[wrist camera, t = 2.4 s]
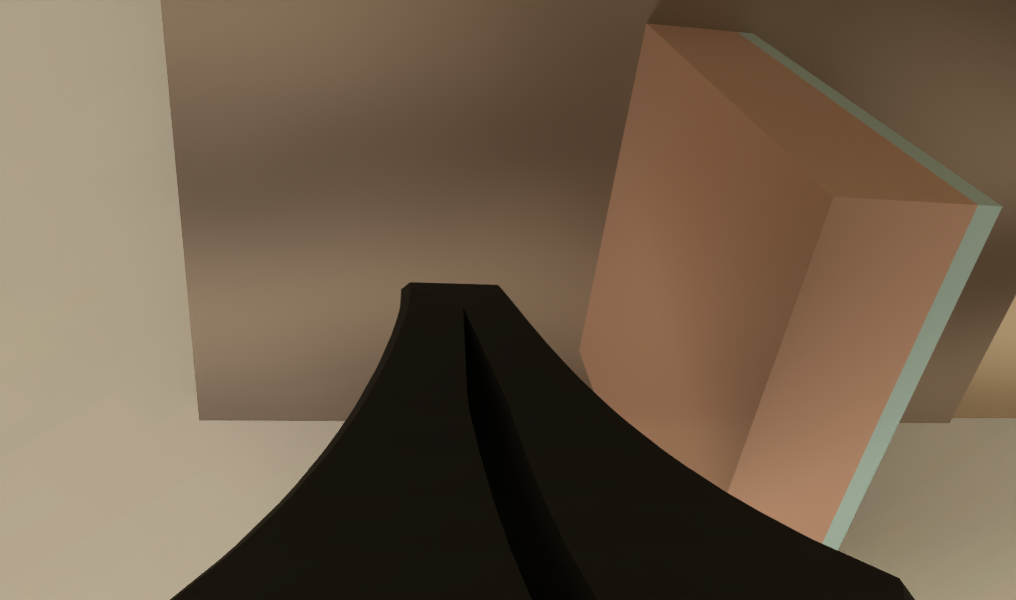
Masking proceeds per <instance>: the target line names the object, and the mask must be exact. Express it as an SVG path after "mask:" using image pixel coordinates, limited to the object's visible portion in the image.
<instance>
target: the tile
mask: <svg viewBox="0 0 1016 600" xmlns="http://www.w3.org/2000/svg"><path fill="white" fill-rule="evenodd" d="M1002 207H1003V206H1001V205H1000V204H998V203H997V202H995V201H994V200H993V199H991V198H990V197H988V196H987V195H985V194H984V193H982V192H981V191H980V190H978V189H977V188H975V187H974V186H972V185H971V184H969V183H968V182H967V181H965V180H964V179H962V178H961V177H959V176H958V175H956V174H955V173H954V172H952V171H951V170H949V169H948V168H946V167H945V166H944V165H942V164H941V163H939V162H938V161H936V160H935V159H933V158H932V157H931V156H929V155H928V154H926V153H925V152H923V151H922V150H920V149H919V148H918V147H916V146H915V145H913V144H912V143H910V142H909V141H907V140H906V139H905V138H903V137H902V136H900V135H899V134H897V133H896V132H894V131H893V130H892V129H890V128H889V127H887V126H886V125H884V124H883V123H882V122H880V121H879V120H877V119H876V118H874V117H873V116H871V115H870V114H869V113H867V112H866V111H864V110H863V109H861V108H860V107H858V106H857V105H856V104H854V103H853V102H851V101H850V100H848V99H847V98H845V97H844V96H843V95H841V94H840V93H838V92H837V91H835V90H834V89H833V88H831V87H830V86H828V85H827V84H825V83H824V82H822V81H821V80H820V79H818V78H817V77H815V76H814V75H812V74H811V73H809V72H808V71H807V70H805V69H804V68H802V67H801V66H799V65H798V64H796V63H795V62H794V61H792V60H791V59H789V58H788V57H786V56H785V55H783V54H782V53H781V52H779V51H778V50H776V49H775V48H773V47H772V46H771V45H769V44H768V43H766V42H765V41H763V40H762V39H760V38H759V37H758V36H756V35H755V34H753V33H743V32H732V31H722V30H711V29H701V28H690V27H680V26H669V25H659V24H648V23H646V27H645V32H644V37H643V42H642V47H641V52H640V56H639V61H638V66H637V71H636V76H635V81H634V86H633V90H632V95H631V100H630V105H629V110H628V115H627V120H626V125H625V129H624V134H623V139H622V144H621V149H620V154H619V159H618V164H617V168H616V173H615V178H614V183H613V188H612V193H611V198H610V202H609V207H608V212H607V217H606V222H605V227H604V232H603V237H602V241H601V246H600V251H599V256H598V261H597V266H596V271H595V276H594V280H593V285H592V290H591V295H590V300H589V305H588V310H587V315H586V319H585V324H584V329H583V334H582V339H581V344H580V349H579V352H580V355H581V358H582V360H583V363H584V366H585V369H586V372H587V374H588V377H589V380H590V383H591V386H592V388H593V391H594V392H595V393H596V394H597V395H598V396H599V397H600V398H601V399H602V400H603V401H604V402H605V403H606V404H608V405H609V406H610V407H611V408H612V409H613V410H614V411H615V412H617V413H618V414H619V415H620V416H621V417H622V418H624V419H625V420H626V421H627V422H628V423H630V424H631V425H632V426H633V427H635V428H636V429H637V430H638V431H640V432H641V433H642V434H644V435H645V436H646V437H647V438H649V439H650V440H651V441H653V442H654V443H655V444H656V445H658V446H659V447H660V448H661V449H663V450H664V451H666V452H667V453H668V454H670V455H671V456H673V457H674V458H675V459H677V460H678V461H680V462H681V463H682V464H684V465H685V466H687V467H688V468H690V469H691V470H693V471H695V472H696V473H698V474H699V475H701V476H702V477H704V478H705V479H707V480H708V481H710V482H711V483H713V484H715V485H716V486H718V487H719V488H721V489H722V490H724V491H725V492H727V493H729V494H730V495H732V496H734V497H736V498H737V499H739V500H741V501H742V502H744V503H746V504H748V505H749V506H751V507H753V508H754V509H756V510H758V511H760V512H762V513H764V514H765V515H767V516H769V517H771V518H773V519H775V520H777V521H779V522H780V523H782V524H784V525H786V526H788V527H790V528H792V529H794V530H795V531H797V532H799V533H801V534H803V535H805V536H807V537H809V538H811V539H813V540H815V541H817V542H820V543H822V544H824V545H826V546H828V547H831V548H833V549H835V550H837V551H838V549H839V547H840V545H841V543H842V541H843V539H844V537H845V535H846V533H847V531H848V529H849V526H850V524H851V522H852V520H853V518H854V516H855V514H856V512H857V510H858V508H859V506H860V503H861V501H862V499H863V497H864V495H865V493H866V491H867V489H868V487H869V485H870V483H871V480H872V478H873V476H874V474H875V472H876V470H877V468H878V466H879V464H880V462H881V460H882V457H883V455H884V453H885V451H886V449H887V447H888V445H889V443H890V441H891V439H892V437H893V435H894V432H895V430H896V428H897V426H898V424H899V422H900V420H901V418H902V416H903V414H904V412H905V409H906V407H907V405H908V403H909V401H910V399H911V397H912V395H913V393H914V391H915V389H916V386H917V384H918V382H919V380H920V378H921V376H922V374H923V372H924V370H925V368H926V366H927V363H928V361H929V359H930V357H931V355H932V353H933V351H934V349H935V347H936V345H937V343H938V340H939V338H940V336H941V334H942V332H943V330H944V328H945V326H946V324H947V322H948V320H949V317H950V315H951V313H952V311H953V309H954V307H955V305H956V303H957V301H958V299H959V297H960V294H961V292H962V290H963V288H964V286H965V284H966V282H967V280H968V278H969V276H970V274H971V272H972V269H973V267H974V265H975V263H976V261H977V259H978V257H979V255H980V253H981V251H982V249H983V246H984V244H985V242H986V240H987V238H988V236H989V234H990V232H991V230H992V228H993V226H994V223H995V221H996V219H997V217H998V215H999V213H1000V211H1001V209H1002Z"/></svg>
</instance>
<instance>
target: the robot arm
mask: <svg viewBox="0 0 1016 600" xmlns="http://www.w3.org/2000/svg"><path fill="white" fill-rule="evenodd" d="M170 600H915V599H914V598H913V596H912V595H911V594H910V592H909V591H908V589H907V588H906V587H905V586H904V584H903V583H902V582H901V580H900V578H897V577H895V576H893V575H891V574H888V573H886V572H884V571H882V570H880V569H877V568H875V567H873V566H871V565H868V564H866V563H864V562H862V561H860V560H857V559H855V558H853V557H851V556H848V555H846V554H844V553H842V552H840V551H837V550H835V549H833V548H831V547H828V546H826V545H824V544H822V543H820V542H817V541H815V540H813V539H811V538H809V537H807V536H805V535H803V534H801V533H799V532H797V531H795V530H794V529H792V528H790V527H788V526H786V525H784V524H782V523H780V522H779V521H777V520H775V519H773V518H771V517H769V516H767V515H765V514H764V513H762V512H760V511H758V510H756V509H754V508H753V507H751V506H749V505H748V504H746V503H744V502H742V501H741V500H739V499H737V498H736V497H734V496H732V495H730V494H729V493H727V492H725V491H724V490H722V489H721V488H719V487H718V486H716V485H715V484H713V483H711V482H710V481H708V480H707V479H705V478H704V477H702V476H701V475H699V474H698V473H696V472H695V471H693V470H691V469H690V468H688V467H687V466H685V465H684V464H682V463H681V462H680V461H678V460H677V459H675V458H674V457H673V456H671V455H670V454H668V453H667V452H666V451H664V450H663V449H661V448H660V447H659V446H658V445H656V444H655V443H654V442H653V441H651V440H650V439H649V438H647V437H646V436H645V435H644V434H642V433H641V432H640V431H638V430H637V429H636V428H635V427H633V426H632V425H631V424H630V423H628V422H627V421H626V420H625V419H624V418H622V417H621V416H620V415H619V414H618V413H617V412H615V411H614V410H613V409H612V408H611V407H610V406H609V405H608V404H606V403H605V402H604V401H603V400H602V399H601V398H600V397H599V396H598V395H597V394H596V393H595V392H594V391H593V390H592V389H590V388H589V387H588V386H587V385H586V384H585V383H584V382H583V381H582V380H581V379H580V378H579V377H578V376H577V375H576V374H575V373H574V372H573V371H572V370H571V369H570V368H569V366H568V365H567V364H566V363H565V362H564V361H563V360H562V359H561V358H560V357H559V356H558V355H557V353H556V352H555V351H554V350H553V349H552V348H551V347H550V346H549V345H548V343H547V342H546V341H545V340H544V339H543V338H542V337H541V335H540V334H539V333H538V332H537V331H536V330H535V328H534V327H533V326H532V325H531V324H530V322H529V321H528V320H527V319H526V318H525V316H524V315H523V314H522V313H521V311H520V310H519V309H518V308H517V307H516V305H515V304H514V303H513V302H512V300H511V299H510V298H509V297H508V296H507V294H506V293H505V292H504V291H503V290H502V289H501V287H500V286H499V285H489V284H454V283H420V282H410V283H408V284H407V285H406V286H405V287H403V288H402V289H401V299H400V309H399V313H398V317H397V320H396V323H395V326H394V329H393V332H392V334H391V337H390V339H389V341H388V344H387V346H386V348H385V350H384V353H383V355H382V357H381V359H380V362H379V364H378V366H377V368H376V370H375V372H374V374H373V375H372V377H371V379H370V381H369V382H368V384H367V386H366V388H365V390H364V391H363V393H362V395H361V397H360V398H359V400H358V402H357V404H356V405H355V407H354V409H353V410H352V412H351V413H350V415H349V416H348V418H347V419H346V421H345V422H344V424H343V425H342V427H341V428H340V430H339V431H338V432H337V434H336V435H335V437H334V438H333V439H332V441H331V442H330V443H329V445H328V446H327V448H326V449H325V450H324V452H323V453H322V454H321V455H320V457H319V458H318V459H317V460H316V461H315V463H314V464H313V465H312V466H311V467H310V469H309V470H308V471H307V472H306V473H305V475H304V476H303V477H302V478H301V480H300V481H299V482H298V483H297V484H296V485H295V486H294V488H293V489H292V490H291V491H290V492H289V493H288V494H287V495H286V496H285V497H284V499H283V500H282V501H281V502H280V503H279V504H278V505H277V506H276V507H275V508H274V509H273V510H272V511H271V512H270V513H269V514H268V515H267V516H266V517H265V518H263V519H262V520H261V521H260V522H259V523H258V524H257V525H256V526H255V527H254V528H253V529H252V530H251V531H250V532H249V533H248V534H247V535H246V536H245V537H244V538H243V539H242V540H241V541H240V542H239V543H238V544H237V545H236V546H235V547H234V548H232V549H231V550H230V551H229V552H228V553H227V554H226V555H225V556H223V557H222V558H221V559H220V560H219V561H218V562H216V563H215V564H214V565H213V566H211V567H210V568H209V569H208V570H206V571H205V572H204V573H203V574H201V575H200V576H199V577H198V578H196V579H195V580H194V581H193V582H191V583H190V584H189V585H188V586H186V587H185V588H184V589H183V590H181V591H180V592H179V593H178V594H177V595H175V596H174V597H173V598H172V599H170Z"/></svg>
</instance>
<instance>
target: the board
mask: <svg viewBox="0 0 1016 600" xmlns="http://www.w3.org/2000/svg"><path fill="white" fill-rule="evenodd" d="M161 9H162V20H163V31H164V42H165V53H166V63H167V74H168V85H169V96H170V107H171V118H172V128H173V139H174V150H175V161H176V172H177V183H178V193H179V204H180V215H181V226H182V237H183V248H184V259H185V269H186V280H187V291H188V302H189V313H190V324H191V334H192V345H193V356H194V367H195V378H196V389H197V400H198V410H199V420H277V421H346V419H347V418H348V416H349V415H350V413H351V412H352V410H353V409H354V407H355V405H356V404H357V402H358V400H359V398H360V397H361V395H362V393H363V391H364V390H365V388H366V386H367V384H368V382H369V381H370V379H371V377H372V375H373V374H374V372H375V370H376V368H377V366H378V364H379V362H380V359H381V357H382V355H383V353H384V350H385V348H386V346H387V344H388V341H389V339H390V337H391V334H392V332H393V329H394V326H395V323H396V320H397V317H398V313H399V309H400V299H401V289H402V288H403V287H405V286H406V285H407V284H408V283H410V282H420V283H454V284H489V285H499V286H500V287H501V289H502V290H503V291H504V292H505V293H506V294H507V296H508V297H509V298H510V299H511V300H512V302H513V303H514V304H515V305H516V307H517V308H518V309H519V310H520V311H521V313H522V314H523V315H524V316H525V318H526V319H527V320H528V321H529V322H530V324H531V325H532V326H533V327H534V328H535V330H536V331H537V332H538V333H539V334H540V335H541V337H542V338H543V339H544V340H545V341H546V342H547V343H548V345H549V346H550V347H551V348H552V349H553V350H554V351H555V352H556V353H557V355H558V356H559V357H560V358H561V359H562V360H563V361H564V362H565V363H566V364H567V365H568V366H569V368H570V369H571V370H572V371H573V372H574V373H575V374H576V375H577V376H578V377H579V378H580V379H581V380H582V381H583V382H584V383H585V384H586V385H587V386H588V387H589V388H590V389H592V390H593V388H592V386H591V383H590V380H589V377H588V374H587V372H586V369H585V366H584V363H583V360H582V358H581V355H580V352H579V349H580V344H581V339H582V334H583V329H584V324H585V319H586V315H587V310H588V305H589V300H590V295H591V290H592V285H593V280H594V276H595V271H596V266H597V261H598V256H599V251H600V246H601V241H602V237H603V232H604V227H605V222H606V217H607V212H608V207H609V202H610V198H611V193H612V188H613V183H614V178H615V173H616V168H617V164H618V159H619V154H620V149H621V144H622V139H623V134H624V129H625V125H626V120H627V115H628V110H629V105H630V100H631V95H632V90H633V86H634V81H635V76H636V71H637V66H638V61H639V56H640V52H641V47H642V42H643V37H644V32H645V27H646V23H648V24H659V25H669V26H680V27H690V28H701V29H711V30H722V31H732V32H743V33H753V34H755V35H756V36H758V37H759V38H760V39H762V40H763V41H765V42H766V43H768V44H769V45H771V46H772V47H773V48H775V49H776V50H778V51H779V52H781V53H782V54H783V55H785V56H786V57H788V58H789V59H791V60H792V61H794V62H795V63H796V64H798V65H799V66H801V67H802V68H804V69H805V70H807V71H808V72H809V73H811V74H812V75H814V76H815V77H817V78H818V79H820V80H821V81H822V82H824V83H825V84H827V85H828V86H830V87H831V88H833V89H834V90H835V91H837V92H838V93H840V94H841V95H843V96H844V97H845V98H847V99H848V100H850V101H851V102H853V103H854V104H856V105H857V106H858V107H860V108H861V109H863V110H864V111H866V112H867V113H869V114H870V115H871V116H873V117H874V118H876V119H877V120H879V121H880V122H882V123H883V124H884V125H886V126H887V127H889V128H890V129H892V130H893V131H894V132H896V133H897V134H899V135H900V136H902V137H903V138H905V139H906V140H907V141H909V142H910V143H912V144H913V145H915V146H916V147H918V148H919V149H920V150H922V151H923V152H925V153H926V154H928V155H929V156H931V157H932V158H933V159H935V160H936V161H938V162H939V163H941V164H942V165H944V166H945V167H946V168H948V169H949V170H951V171H952V172H954V173H955V174H956V175H958V176H959V177H961V178H962V179H964V180H965V181H967V182H968V183H969V184H971V185H972V186H974V187H975V188H977V189H978V190H980V191H981V192H982V193H984V194H985V195H987V196H988V197H990V198H991V199H993V200H994V201H995V202H997V203H998V204H1000V205H1001V206H1003V207H1002V209H1001V211H1000V213H999V215H998V217H997V219H996V221H995V223H994V226H993V228H992V230H991V232H990V234H989V236H988V238H987V240H986V242H985V244H984V246H983V249H982V251H981V253H980V255H979V257H978V259H977V261H976V263H975V265H974V267H973V269H972V272H971V274H970V276H969V278H968V280H967V282H966V284H965V286H964V288H963V290H962V292H961V294H960V297H959V299H958V301H957V303H956V305H955V307H954V309H953V311H952V313H951V315H950V317H949V320H948V322H947V324H946V326H945V328H944V330H943V332H942V334H941V336H940V338H939V340H938V343H937V345H936V347H935V349H934V351H933V353H932V355H931V357H930V359H929V361H928V363H927V366H926V368H925V370H924V372H923V374H922V376H921V378H920V380H919V382H918V384H917V386H916V389H915V391H914V393H913V395H912V397H911V399H910V401H909V403H908V405H907V407H906V409H905V412H904V414H903V416H902V418H901V420H900V422H899V423H950V421H951V419H952V418H1016V0H161Z"/></svg>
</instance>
